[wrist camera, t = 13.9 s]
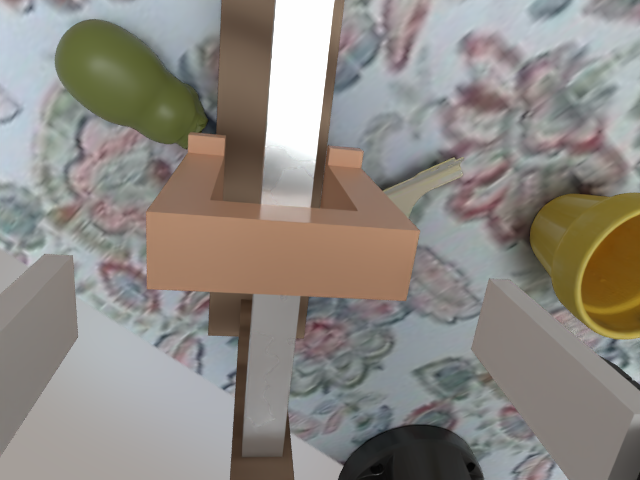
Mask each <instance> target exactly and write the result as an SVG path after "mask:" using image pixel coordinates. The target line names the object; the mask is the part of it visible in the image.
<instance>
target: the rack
mask: <svg viewBox="0 0 640 480" xmlns="http://www.w3.org/2000/svg"><path fill="white" fill-rule="evenodd" d="M274 5H275V0H222V6H221V30H220V55H219V80H218V105H217V130H216V135H226V147H225V168H224V190H223V201H229V202H242V203H255V204H260V192H261V179H262V165H263V152H264V139H265V125H266V112H267V99H268V85H269V72H270V59H271V45H272V32H273V18H274ZM343 8H344V0H334V5H333V13H332V22H331V31H330V40H329V49H328V58H327V66H326V75H325V84H324V93H323V102H322V110H321V119H320V128H319V137H318V146H317V155H316V163H315V172H314V181H313V190H312V199H311V208H320V200H321V191H322V183H323V175H324V166H325V158H326V150H327V141H328V133H329V125H330V116H331V108H332V100H333V91H334V83H335V75H336V66H337V58H338V50H339V41H340V33H341V25H342V17H343ZM252 299H253V294H245V293H223V292H210V303H209V328H208V335H209V336H239V340H238V357H237V373H236V389H235V405H234V406H235V407H234V422H233V438H232V454H231V471H230V480H294V471H293V460H292V449H291V438H290V427H289V416H288V410H287V419H286V428H285V437H284V446H283V455H282V457H242V438H243V419H244V406H245V392H246V379H247V366H248V352H249V339H250V326H251V312H252ZM308 300H309V296H300V305H299V313H298V322H297V331H296V338H303V339H304V333H305V324H306V316H307V308H308Z"/></svg>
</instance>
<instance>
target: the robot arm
mask: <svg viewBox="0 0 640 480" xmlns="http://www.w3.org/2000/svg"><path fill="white" fill-rule="evenodd" d="M77 338H78V329H77V313H76V297H75V281H74V266H73V255H55V254H44V255H43V256H42V257H41V258H40V259H39V260H38V261H36V262H35V263H34V264H33V265H32V266H31V267H30V268H29V269H28V270H26V271H25V272H24V273H23V274H22V275H21V276H20V277H19V278H18V279H17V280H15V281H14V282H13V283H12V284H11V285H10V286H9V287H8V288H7V289H6V290H4V291H3V292H2V293H1V294H0V456H1V455H2V453H3V452H4V450H5V449H6V447H7V446H8V444H9V443H10V441H11V440H12V438H13V436H14V435H15V433H16V431H17V430H18V429H19V427H20V426H21V424H22V423H23V421H24V420H25V418H26V416H27V415H28V413H29V412H30V410H31V409H32V407H33V406H34V404H35V403H36V401H37V399H38V398H39V396H40V395H41V393H42V392H43V390H44V389H45V387H46V385H47V384H48V383H49V381H50V379H51V378H52V376H53V375H54V373H55V372H56V370H57V369H58V367H59V365H60V364H61V362H62V361H63V359H64V358H65V356H66V355H67V353H68V351H69V350H70V349H71V347H72V346H73V344H74V342H75V341H76V339H77ZM471 350H472V351H473V352H474V354H475V355H476V356H477V358H478V359H479V360H480V362H481V363H482V364H483V366H484V367H485V368H486V370H487V371H488V372H489V374H490V375H491V376H492V378H493V379H494V380H495V382H496V383H497V384H498V386H499V387H500V388H501V390H502V391H503V392H504V394H505V395H506V396H507V398H508V399H509V400H510V402H511V403H512V404H513V406H514V407H515V408H516V410H517V411H518V412H519V414H520V415H521V416H522V418H523V419H524V420H525V422H526V423H527V424H528V426H529V427H530V428H531V430H532V431H533V432H534V434H535V435H536V436H537V438H538V439H539V440H540V442H541V443H542V444H543V446H544V447H545V448H546V450H547V451H548V452H549V454H550V455H551V456H552V458H553V459H554V460H555V462H556V463H557V464H558V466H559V467H560V468H561V470H562V471H563V472H564V474H565V475H566V476H567V478H568V479H569V480H640V385H639V384H638V383H637V382H636V381H632V378H631V377H630V376H629V375H628V374H626V373H625V372H624V371H623V370H622V369H620V368H619V367H618V366H617V365H615V364H613V363H611V362H610V361H608V360H606V359H604V358H603V357H601V356H599V355H597V354H596V353H595V352H594V351H593V350H591V349H590V348H589V347H588V346H587V345H586V344H584V343H583V342H582V341H581V340H580V339H579V338H577V337H576V336H575V335H574V334H573V333H572V332H570V331H569V330H568V329H567V328H566V327H565V326H563V325H562V324H561V323H560V322H559V321H558V320H556V319H555V318H554V317H553V316H552V315H551V314H549V313H548V312H547V311H546V310H545V309H544V308H542V307H541V306H540V305H539V304H538V303H537V302H535V301H534V300H533V299H532V298H531V297H530V296H528V295H527V294H526V293H525V292H524V291H523V290H521V289H520V288H519V287H518V286H517V285H516V284H514V283H513V282H512V281H511V280H504V279H489V281H488V285H487V289H486V293H485V296H484V300H483V304H482V308H481V312H480V316H479V320H478V324H477V328H476V332H475V336H474V340H473V344H472V347H471ZM338 480H484V476H483V473H482V470H481V467H480V465H479V463H478V462H477V460H476V458H475V456H474V454H473V452H472V451H471V449H470V447H469V446H468V445H467V444H466V442H465V441H464V440H462V439H461V438H460V437H459V436H457V435H455V434H454V433H452V432H450V431H447V430H445V429H441V428H437V427H432V426H409V427H403V428H398V429H395V430H391V431H388V432H386V433H383V434H381V435H379V436H377V437H375V438H373V439H371V440H370V441H368V442H367V443H365V444H364V445H363V446H361V447H360V448H359V449H358V450H357V451H356V452H355V453H354V454H353V455H352V456H351V457H350V458H349V459H348V461H347V462H346V464H345V465H344V467H343V469H342V471H341V473H340V475H339V478H338Z"/></svg>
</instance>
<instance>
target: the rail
mask: <svg viewBox="0 0 640 480" xmlns="http://www.w3.org/2000/svg"><path fill="white" fill-rule="evenodd" d="M333 5H334V0H275V5H274V18H273V32H272V45H271V59H270V72H269V85H268V99H267V112H266V125H265V139H264V152H263V165H262V179H261V192H260V204H269V205H282V206H295V207H308V208H311V199H312V190H313V181H314V172H315V163H316V155H317V146H318V137H319V128H320V119H321V110H322V102H323V93H324V84H325V75H326V66H327V58H328V49H329V40H330V31H331V22H332V13H333ZM299 305H300V296H288V295H267V294H253V299H252V312H251V326H250V339H249V352H248V366H247V379H246V392H245V406H244V419H243V438H242V457H282V455H283V446H284V437H285V428H286V419H287V410H288V402H289V393H290V384H291V375H292V366H293V358H294V349H295V340H296V331H297V322H298V313H299Z"/></svg>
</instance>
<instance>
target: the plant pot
mask: <svg viewBox="0 0 640 480" xmlns="http://www.w3.org/2000/svg"><path fill="white" fill-rule="evenodd" d="M530 243H531V247H532V250H533V252H534V254H535V255H536V257H537V258H538V260H539V261H540V262H541V264H542V265H543V267H544V268H545V269H546V271H547V272H548V274H549V275H550V277H551V279H552V285H553V288H554V291H555V293H556V296H557V297H558V299H559V301H560V302H561V303H562V304H563V305H564V306H565V307H566V308H567V309H568V310H569V311H570V312H571V313H572V314H573V315H574V316H575V317H576V318H578V319H579V320H580V321H581V322H582V323H584V324H585V325H586V326H587V327H588V328H590V329H591V330H593V331H594V332H596V333H598V334H600V335H602V336H605V337H609V338H613V339H635V338H640V193H624V194H619V195H615V196H612V197H606V196H595V195H585V194H566V195H562V196H560V197H557V198H555V199H553V200H551V201H550V202H549V203H547V204H546V205H545V206H544V207H543V208H542V209H541V210H540V211H539V212H538V214H537V215H536V217H535V219H534V221H533V223H532V226H531V231H530Z"/></svg>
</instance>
